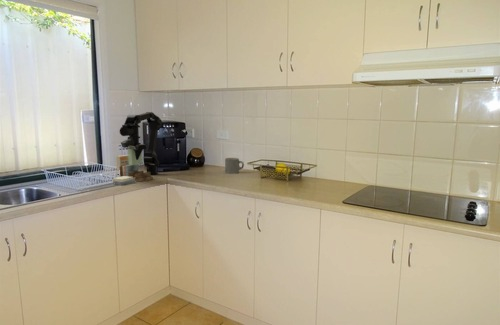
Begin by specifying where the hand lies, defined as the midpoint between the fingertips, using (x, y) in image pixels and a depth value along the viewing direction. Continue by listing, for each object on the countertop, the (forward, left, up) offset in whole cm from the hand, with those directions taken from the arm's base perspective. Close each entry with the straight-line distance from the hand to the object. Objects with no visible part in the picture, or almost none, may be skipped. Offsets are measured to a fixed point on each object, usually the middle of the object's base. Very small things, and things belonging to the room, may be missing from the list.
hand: (135, 159), depth 218 cm
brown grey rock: (-1, -2, -13) cm, 13 cm away
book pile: (+12, +5, -13) cm, 18 cm away
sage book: (0, 0, -3) cm, 3 cm away
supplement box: (-5, -23, -13) cm, 27 cm away
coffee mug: (-59, +32, -13) cm, 69 cm away
